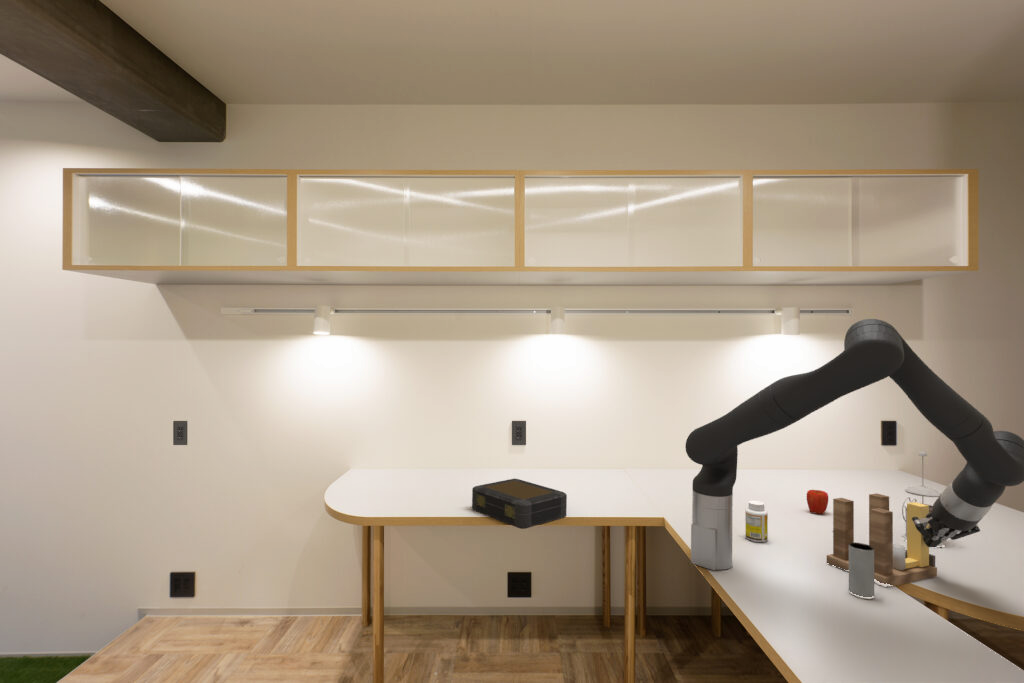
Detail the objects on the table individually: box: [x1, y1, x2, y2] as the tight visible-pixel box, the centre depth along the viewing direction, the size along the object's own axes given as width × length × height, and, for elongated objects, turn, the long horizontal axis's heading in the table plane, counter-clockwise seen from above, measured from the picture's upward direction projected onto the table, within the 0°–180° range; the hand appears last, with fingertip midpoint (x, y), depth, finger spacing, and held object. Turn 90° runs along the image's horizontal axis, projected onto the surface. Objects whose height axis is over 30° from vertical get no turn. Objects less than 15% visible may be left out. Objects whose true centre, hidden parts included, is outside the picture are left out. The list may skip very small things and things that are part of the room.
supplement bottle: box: [744, 500, 769, 543], centre depth 142 cm, size 6×6×10 cm
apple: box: [806, 489, 829, 515], centre depth 168 cm, size 6×6×8 cm
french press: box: [901, 451, 945, 547], centre depth 143 cm, size 10×12×25 cm
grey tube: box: [848, 541, 875, 597], centre depth 110 cm, size 4×4×10 cm
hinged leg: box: [893, 501, 930, 570], centre depth 120 cm, size 10×3×14 cm, turn 112°
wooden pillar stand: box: [826, 493, 938, 587], centre depth 123 cm, size 18×14×16 cm
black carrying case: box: [471, 478, 568, 530], centre depth 163 cm, size 25×20×8 cm
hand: (929, 543), depth 119 cm, fingers closed
